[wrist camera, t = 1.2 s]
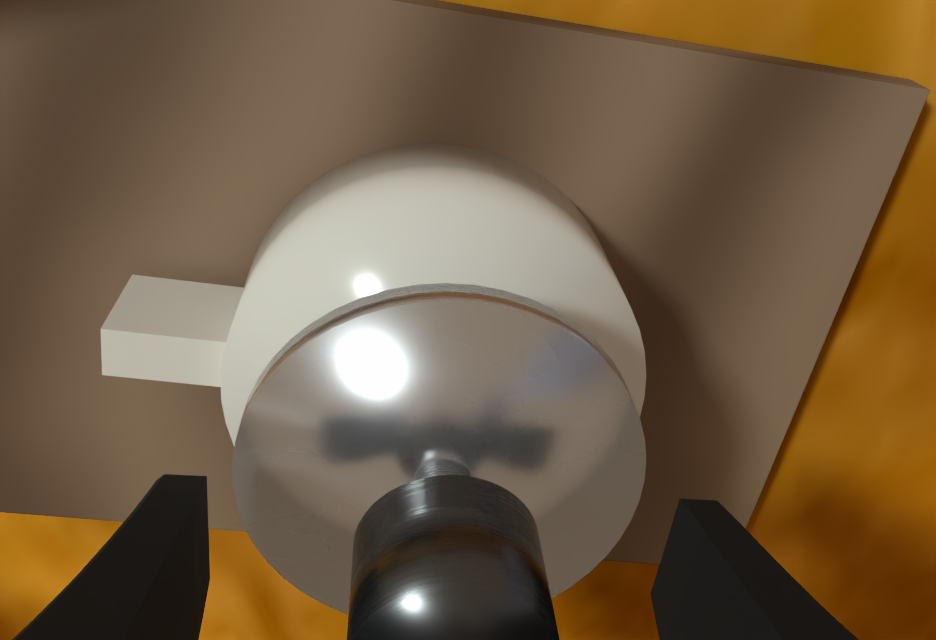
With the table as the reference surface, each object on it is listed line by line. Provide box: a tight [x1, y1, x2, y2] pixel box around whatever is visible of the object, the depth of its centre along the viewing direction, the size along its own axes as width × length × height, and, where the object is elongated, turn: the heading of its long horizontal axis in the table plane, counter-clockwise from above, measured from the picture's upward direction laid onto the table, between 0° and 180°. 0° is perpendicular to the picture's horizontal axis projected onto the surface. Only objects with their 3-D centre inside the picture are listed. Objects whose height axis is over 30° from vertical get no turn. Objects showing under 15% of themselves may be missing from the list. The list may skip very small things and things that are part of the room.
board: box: [0, 0, 930, 565], centre depth 20 cm, size 20×13×1 cm, turn 80°
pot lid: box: [232, 283, 646, 640], centre depth 13 cm, size 7×7×4 cm
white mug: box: [101, 144, 646, 447], centre depth 18 cm, size 10×8×3 cm
